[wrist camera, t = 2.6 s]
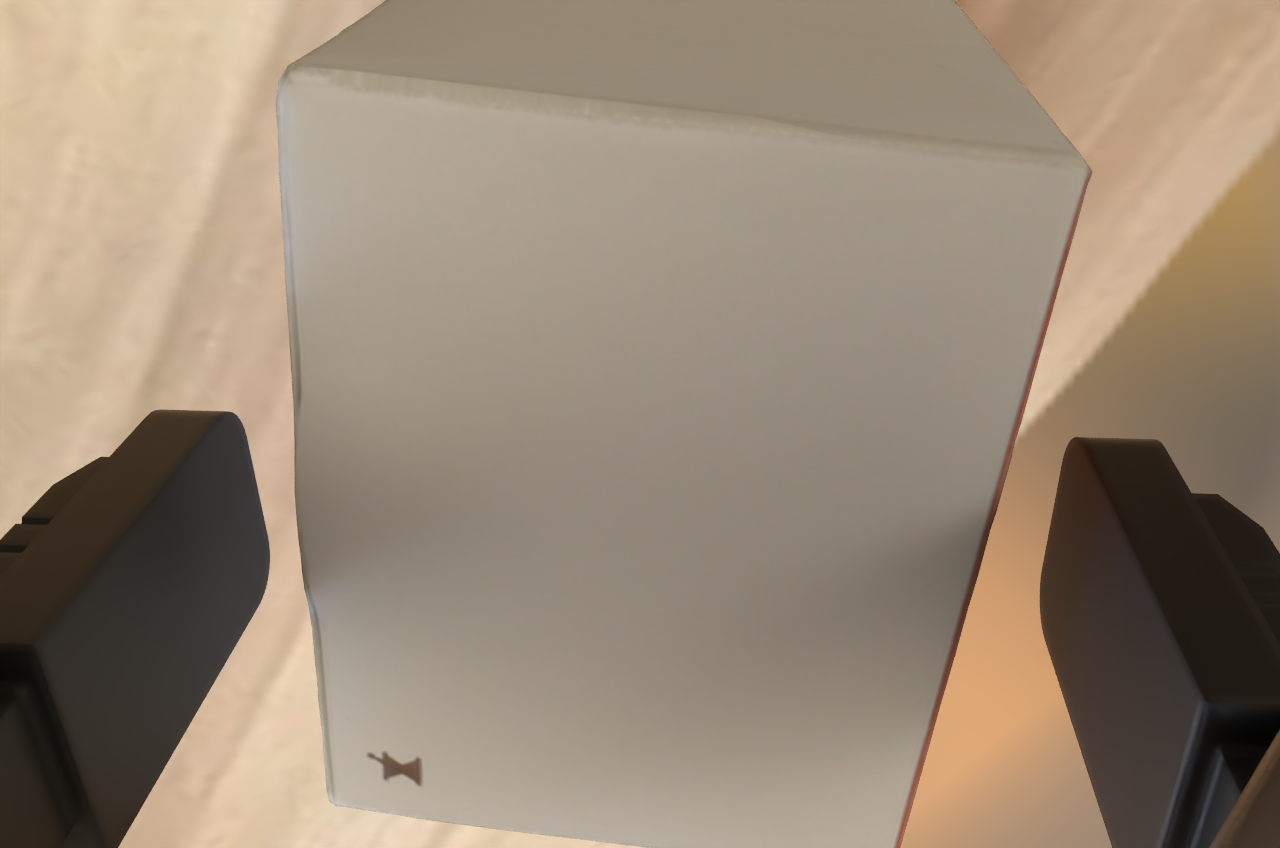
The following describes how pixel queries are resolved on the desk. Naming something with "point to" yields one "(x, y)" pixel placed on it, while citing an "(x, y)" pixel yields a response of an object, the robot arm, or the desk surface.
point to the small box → (656, 401)
